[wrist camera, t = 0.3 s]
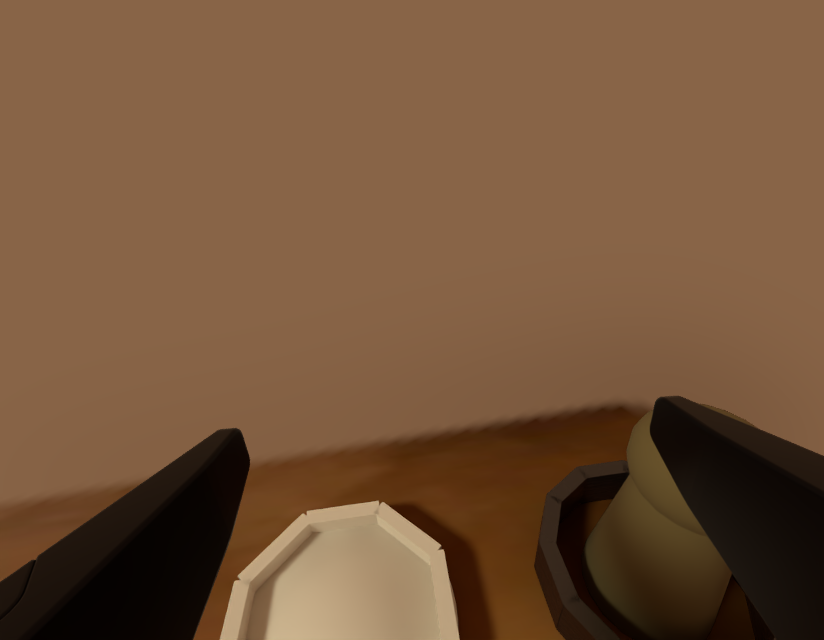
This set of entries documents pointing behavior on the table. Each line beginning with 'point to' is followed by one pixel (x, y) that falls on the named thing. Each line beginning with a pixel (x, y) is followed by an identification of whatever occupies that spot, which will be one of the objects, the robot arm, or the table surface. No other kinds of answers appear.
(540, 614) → the table surface
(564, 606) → the dark grey ring
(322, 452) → the table surface
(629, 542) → the cork
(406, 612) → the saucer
